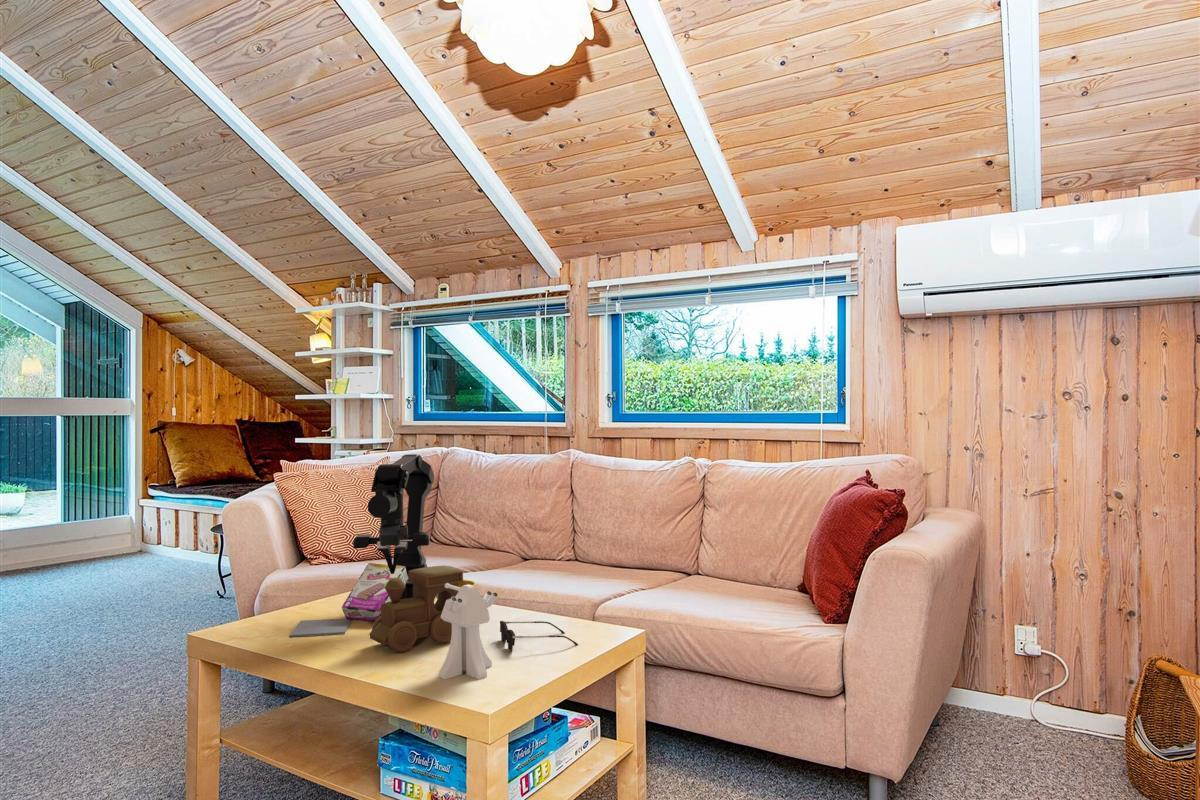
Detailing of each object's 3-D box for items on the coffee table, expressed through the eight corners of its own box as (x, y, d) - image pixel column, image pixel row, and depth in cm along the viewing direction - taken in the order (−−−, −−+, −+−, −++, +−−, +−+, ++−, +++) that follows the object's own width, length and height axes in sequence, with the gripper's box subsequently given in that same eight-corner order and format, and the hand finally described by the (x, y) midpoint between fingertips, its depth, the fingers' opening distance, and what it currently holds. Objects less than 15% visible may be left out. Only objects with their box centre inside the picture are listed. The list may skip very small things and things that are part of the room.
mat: (352, 619, 210) (352, 617, 210) (344, 634, 197) (344, 631, 197) (300, 622, 208) (300, 620, 208) (289, 637, 194) (289, 635, 194)
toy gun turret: (470, 657, 176) (469, 575, 176) (506, 671, 166) (505, 584, 167) (422, 670, 168) (422, 584, 168) (458, 685, 158) (457, 593, 158)
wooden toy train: (443, 630, 199) (442, 563, 199) (466, 640, 190) (465, 570, 190) (366, 646, 186) (365, 574, 186) (386, 657, 177) (386, 582, 177)
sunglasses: (498, 640, 191) (499, 619, 191) (563, 637, 196) (564, 616, 196) (511, 656, 178) (512, 633, 178) (580, 652, 183) (581, 630, 183)
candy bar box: (340, 606, 205) (367, 561, 219) (345, 620, 208) (371, 575, 221) (380, 610, 203) (405, 565, 216) (385, 624, 206) (409, 578, 219)
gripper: (349, 518, 196) (350, 582, 196) (427, 515, 200) (428, 578, 199) (355, 512, 207) (356, 573, 207) (429, 510, 211) (430, 569, 210)
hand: (392, 573), depth 206 cm, fingers closed
